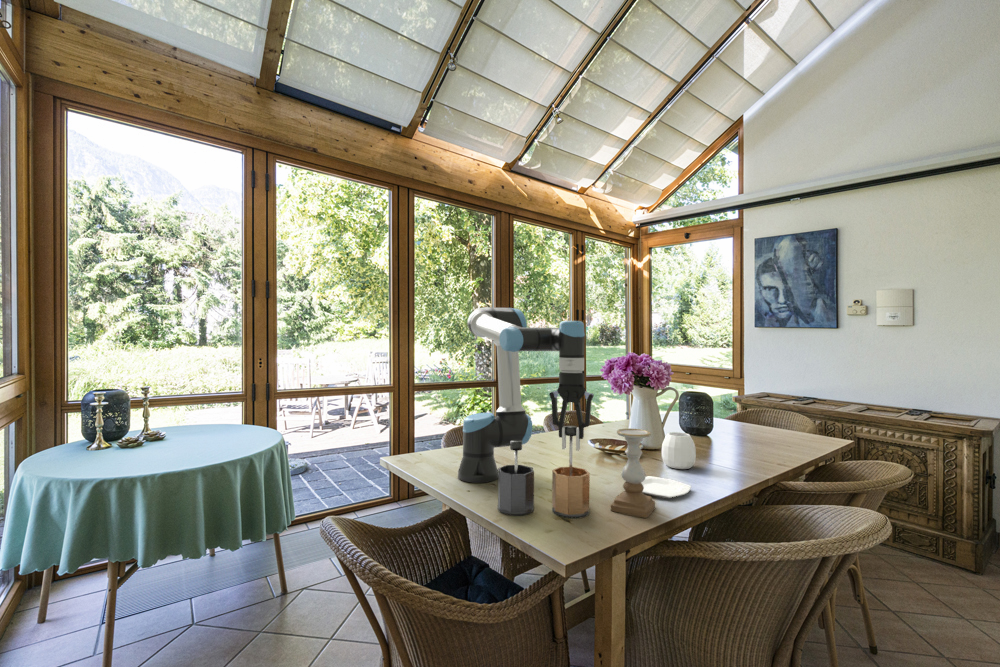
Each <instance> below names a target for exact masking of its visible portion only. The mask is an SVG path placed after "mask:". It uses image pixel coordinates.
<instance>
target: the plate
mask: <svg viewBox="0 0 1000 667" xmlns="http://www.w3.org/2000/svg"><path fill="white" fill-rule="evenodd" d="M641 484H642V485H643V487H644V489H643V491H642V493H643V494H645V495H647V496H651V497H656V498H661V497H662V499H667V498H668V499H672V497H673V498H677V497H681V496H683V495H686V494H689V492H690V491H691V488H692V485H689V484H687V483H684V482H680V481H677V480H674V479H669V478H665V477H664V478H663V477H659V476H653V475H652V476H651V475H648V476H646V478H645V480H644V481H643V482H641ZM676 496H677V497H676Z"/></svg>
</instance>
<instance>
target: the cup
mask: <svg viewBox="0 0 1000 667" xmlns="http://www.w3.org/2000/svg"><path fill="white" fill-rule="evenodd" d="M696 454H697V450H696V444H695V442H694V439H693V438H692V436H691V434H690V433H686V432H680V431H679V432H678V431H672V432H670V431H669V432H667V433H666V435H665V437H664V439H663V441H662V444H661V459H662V462H663V463H664V464H665V465H666V466H667V467H668V468H673V469H677V470H687V469H690V468H692V467H694V464H695V462H696V458H697V457H696Z"/></svg>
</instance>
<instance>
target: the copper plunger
mask: <svg viewBox="0 0 1000 667" xmlns="http://www.w3.org/2000/svg"><path fill="white" fill-rule="evenodd" d="M564 426H565V435H566V437H567V436H568V437H569V460H568V461H569V464H568V467H569V476H572V467H573V444H574V443H573V439H574V438H573V437H576V428H577V427H578V426H575V425H564Z"/></svg>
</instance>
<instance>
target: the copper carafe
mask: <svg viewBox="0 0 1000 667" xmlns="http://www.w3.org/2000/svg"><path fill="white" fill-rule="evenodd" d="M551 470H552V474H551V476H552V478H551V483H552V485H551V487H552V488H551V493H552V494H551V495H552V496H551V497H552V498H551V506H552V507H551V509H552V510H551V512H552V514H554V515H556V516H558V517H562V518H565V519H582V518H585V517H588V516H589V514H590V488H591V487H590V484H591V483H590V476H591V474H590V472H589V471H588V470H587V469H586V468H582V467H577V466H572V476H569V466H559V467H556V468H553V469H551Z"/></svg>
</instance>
